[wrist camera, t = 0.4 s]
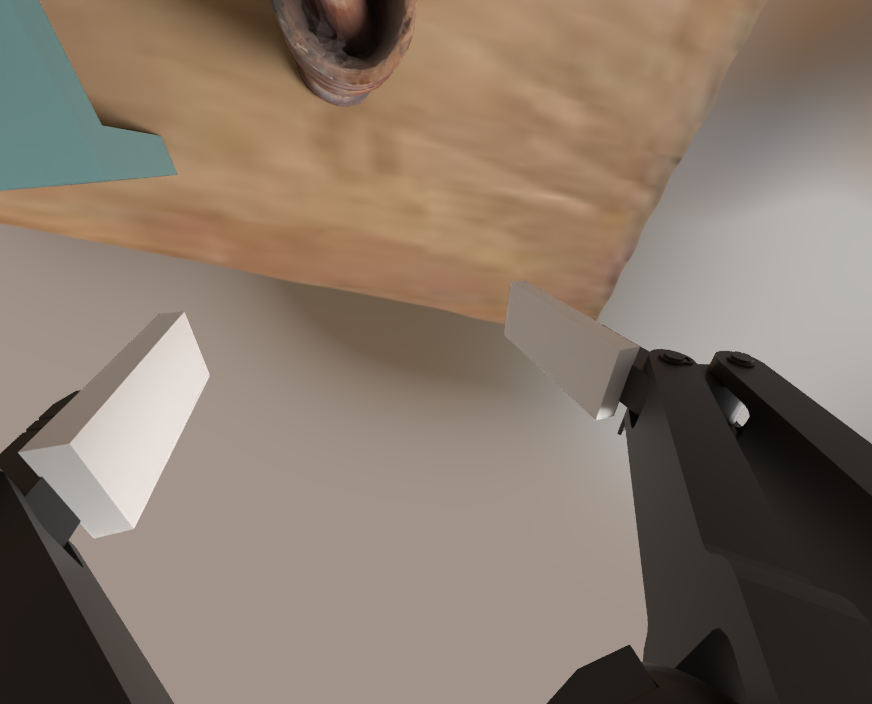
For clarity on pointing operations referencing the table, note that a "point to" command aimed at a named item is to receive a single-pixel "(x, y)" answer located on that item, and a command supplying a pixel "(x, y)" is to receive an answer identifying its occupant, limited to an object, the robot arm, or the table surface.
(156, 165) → the teal slotted arch
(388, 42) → the mortar and pestle
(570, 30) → the table surface
